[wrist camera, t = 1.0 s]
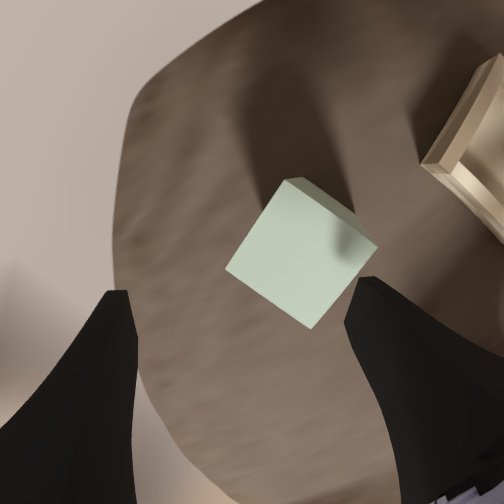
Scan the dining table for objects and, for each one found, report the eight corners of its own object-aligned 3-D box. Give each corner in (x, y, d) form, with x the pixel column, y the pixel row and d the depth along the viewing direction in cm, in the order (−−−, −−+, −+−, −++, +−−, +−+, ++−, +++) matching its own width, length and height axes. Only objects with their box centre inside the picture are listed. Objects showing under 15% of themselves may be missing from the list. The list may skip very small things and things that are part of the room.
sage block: (355, 214, 21) (377, 246, 12) (318, 264, 23) (310, 329, 13) (302, 176, 22) (284, 179, 12) (267, 228, 23) (225, 269, 14)
